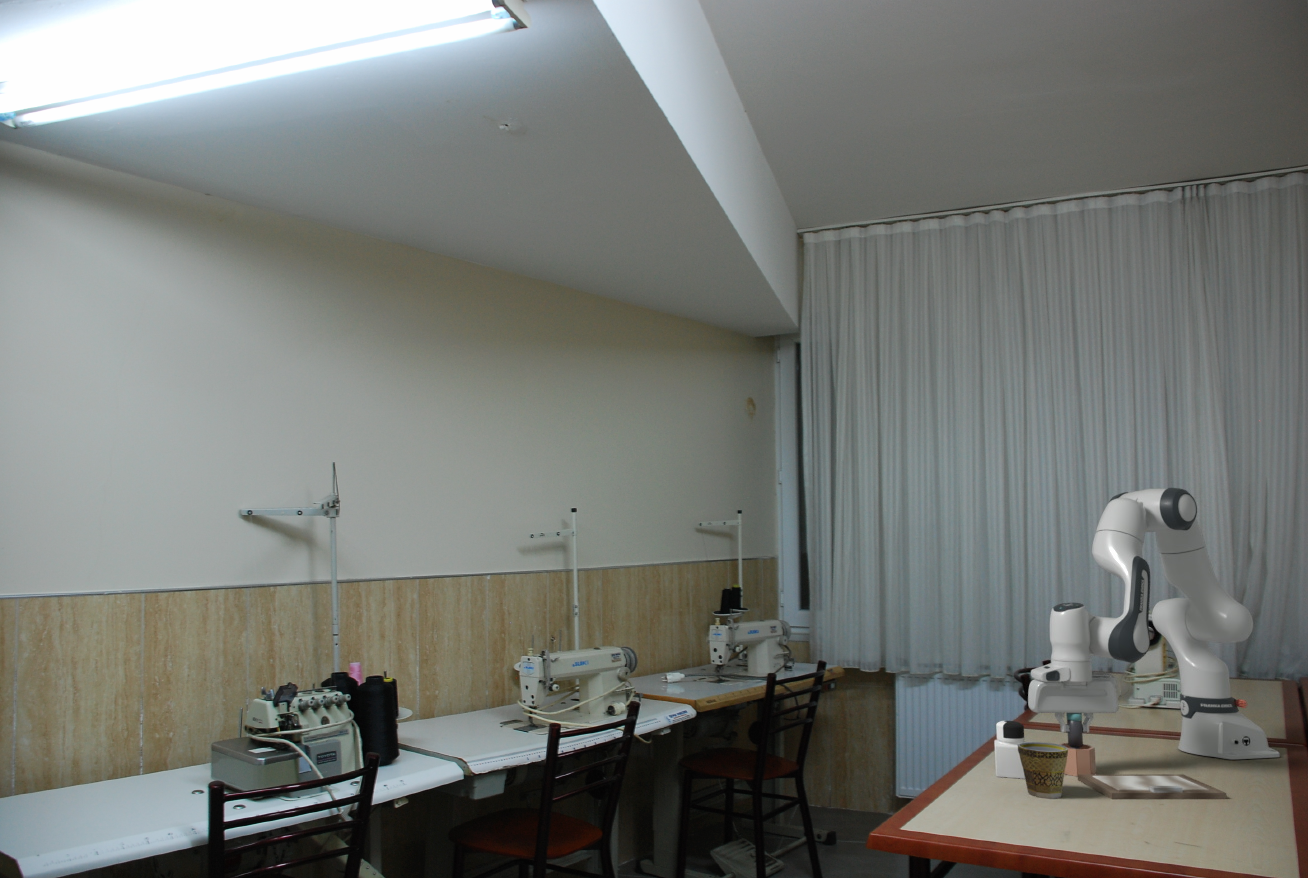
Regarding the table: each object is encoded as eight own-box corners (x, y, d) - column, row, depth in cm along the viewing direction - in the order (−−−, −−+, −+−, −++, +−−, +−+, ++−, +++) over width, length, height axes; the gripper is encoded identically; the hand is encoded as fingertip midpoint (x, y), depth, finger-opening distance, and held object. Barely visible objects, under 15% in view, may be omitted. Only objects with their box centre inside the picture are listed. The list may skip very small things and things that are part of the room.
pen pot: (1085, 768, 221) (1084, 742, 222) (1100, 776, 214) (1099, 749, 214) (1054, 768, 221) (1053, 742, 222) (1068, 776, 214) (1066, 749, 214)
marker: (1079, 750, 219) (1077, 711, 220) (1086, 753, 216) (1084, 713, 217) (1065, 750, 219) (1063, 711, 221) (1072, 753, 216) (1070, 713, 217)
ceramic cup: (1081, 798, 195) (1078, 749, 196) (1041, 802, 192) (1038, 752, 193) (1039, 783, 207) (1036, 737, 208) (1001, 787, 204) (999, 740, 205)
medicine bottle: (1027, 772, 218) (1025, 720, 219) (1029, 779, 211) (1026, 725, 212) (995, 770, 220) (993, 718, 221) (996, 777, 213) (993, 723, 215)
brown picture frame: (1183, 779, 210) (1183, 769, 210) (1226, 798, 194) (1225, 787, 195) (1077, 779, 210) (1077, 769, 211) (1111, 798, 194) (1111, 788, 195)
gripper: (1109, 670, 223) (1112, 729, 221) (1024, 670, 223) (1026, 729, 222) (1122, 674, 217) (1125, 734, 215) (1034, 674, 217) (1037, 734, 215)
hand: (1074, 732), depth 218 cm, fingers closed on marker, 3 cm apart
